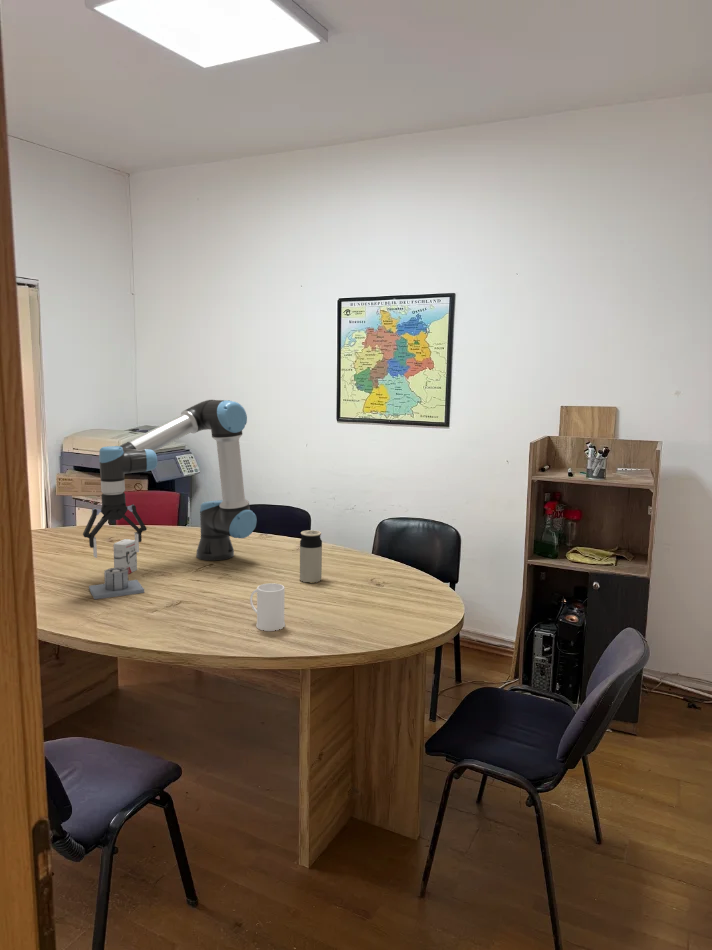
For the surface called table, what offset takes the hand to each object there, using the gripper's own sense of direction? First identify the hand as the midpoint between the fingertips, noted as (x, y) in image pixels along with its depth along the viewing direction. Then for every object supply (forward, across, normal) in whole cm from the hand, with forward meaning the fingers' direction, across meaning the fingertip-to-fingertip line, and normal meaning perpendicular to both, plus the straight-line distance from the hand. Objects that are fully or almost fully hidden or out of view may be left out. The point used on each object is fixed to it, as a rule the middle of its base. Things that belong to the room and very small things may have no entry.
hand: (116, 554), depth 224 cm
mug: (+14, -33, +52) cm, 63 cm away
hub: (+12, +1, 0) cm, 12 cm away
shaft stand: (+13, +1, 0) cm, 13 cm away
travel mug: (+14, -64, +18) cm, 68 cm away
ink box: (+13, -6, -21) cm, 26 cm away
